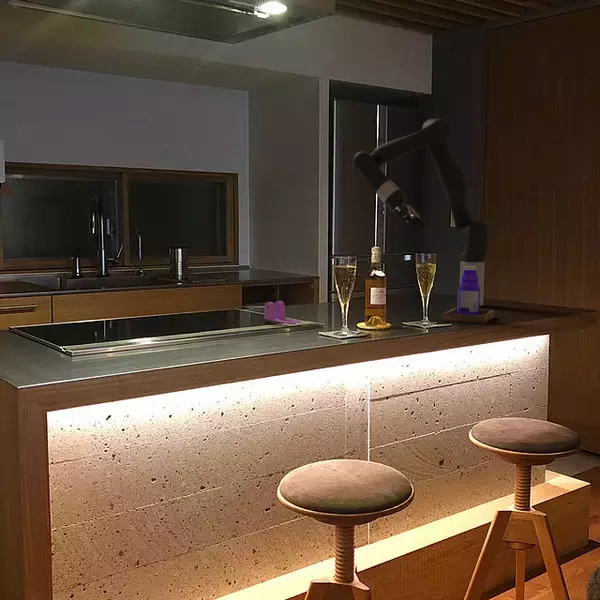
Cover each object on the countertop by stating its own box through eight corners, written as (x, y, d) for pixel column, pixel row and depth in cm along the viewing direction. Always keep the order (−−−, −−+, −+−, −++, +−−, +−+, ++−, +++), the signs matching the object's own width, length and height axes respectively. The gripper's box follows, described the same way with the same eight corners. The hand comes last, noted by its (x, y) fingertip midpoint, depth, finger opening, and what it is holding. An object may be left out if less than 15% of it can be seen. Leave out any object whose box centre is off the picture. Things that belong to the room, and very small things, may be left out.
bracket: (264, 323, 254) (264, 301, 253) (277, 321, 258) (277, 300, 257) (290, 327, 244) (291, 305, 244) (303, 326, 248) (304, 304, 247)
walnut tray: (454, 314, 278) (454, 307, 278) (494, 317, 272) (494, 310, 272) (442, 321, 262) (442, 313, 261) (484, 323, 256) (484, 316, 256)
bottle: (478, 316, 269) (479, 265, 267) (479, 318, 264) (481, 266, 262) (456, 315, 270) (458, 265, 268) (458, 317, 264) (459, 266, 262)
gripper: (392, 187, 277) (423, 220, 274) (404, 189, 290) (433, 220, 287) (378, 202, 280) (408, 235, 277) (390, 203, 293) (419, 234, 290)
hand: (421, 227), depth 282 cm, fingers open, 8 cm apart
